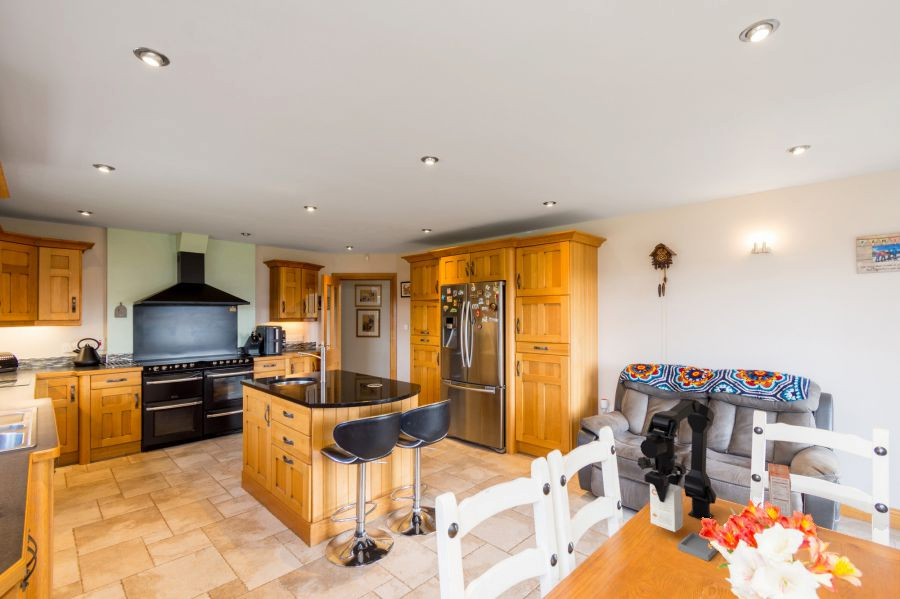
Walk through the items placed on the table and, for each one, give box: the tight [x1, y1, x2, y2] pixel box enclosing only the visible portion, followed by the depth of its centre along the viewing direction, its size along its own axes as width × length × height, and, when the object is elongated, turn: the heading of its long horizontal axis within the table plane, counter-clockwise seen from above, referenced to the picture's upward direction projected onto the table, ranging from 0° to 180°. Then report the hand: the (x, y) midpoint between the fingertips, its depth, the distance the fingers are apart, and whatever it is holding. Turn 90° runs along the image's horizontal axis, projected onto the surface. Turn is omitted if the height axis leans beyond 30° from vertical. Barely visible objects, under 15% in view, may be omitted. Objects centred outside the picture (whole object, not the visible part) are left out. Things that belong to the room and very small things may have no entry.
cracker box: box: [767, 462, 793, 517], centre depth 146 cm, size 14×6×21 cm, turn 144°
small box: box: [649, 483, 684, 533], centre depth 143 cm, size 8×6×13 cm
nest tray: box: [677, 531, 719, 562], centre depth 135 cm, size 11×9×2 cm
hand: (666, 499), depth 143 cm, fingers closed on small box, 6 cm apart
